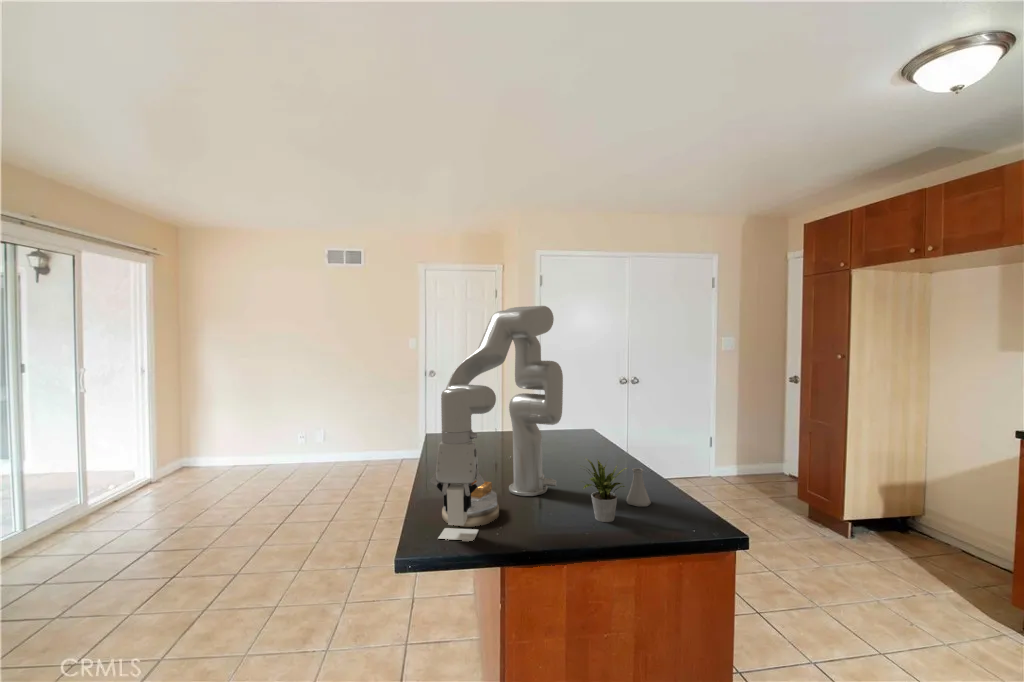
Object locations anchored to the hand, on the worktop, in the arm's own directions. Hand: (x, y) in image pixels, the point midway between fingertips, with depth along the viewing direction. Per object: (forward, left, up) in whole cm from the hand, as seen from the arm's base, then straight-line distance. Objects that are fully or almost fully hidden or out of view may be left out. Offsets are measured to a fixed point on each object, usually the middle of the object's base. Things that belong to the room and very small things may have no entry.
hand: (457, 508), depth 110 cm
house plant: (-36, -15, -7) cm, 40 cm away
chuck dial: (0, -13, -4) cm, 14 cm away
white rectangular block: (0, 0, -3) cm, 3 cm away
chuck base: (0, -13, -7) cm, 15 cm away
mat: (0, 0, -7) cm, 7 cm away
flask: (-48, -27, -7) cm, 56 cm away
